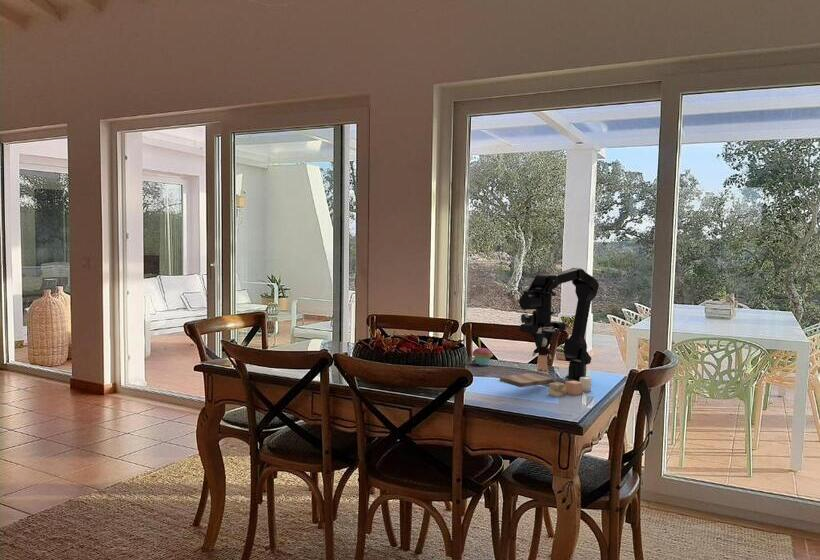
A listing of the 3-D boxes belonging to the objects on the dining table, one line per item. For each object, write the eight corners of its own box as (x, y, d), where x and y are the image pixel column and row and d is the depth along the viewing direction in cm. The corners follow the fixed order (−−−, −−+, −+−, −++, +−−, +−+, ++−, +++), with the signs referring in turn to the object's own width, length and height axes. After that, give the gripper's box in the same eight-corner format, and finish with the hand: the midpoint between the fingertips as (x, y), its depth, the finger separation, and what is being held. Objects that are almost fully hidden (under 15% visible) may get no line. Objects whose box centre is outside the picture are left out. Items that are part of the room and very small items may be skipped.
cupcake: (471, 365, 275) (472, 337, 274) (473, 361, 283) (473, 334, 283) (492, 366, 274) (492, 338, 273) (492, 363, 282) (493, 335, 281)
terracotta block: (573, 391, 233) (573, 380, 233) (581, 393, 230) (582, 382, 230) (565, 392, 231) (565, 381, 231) (573, 395, 228) (574, 383, 228)
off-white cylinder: (584, 388, 238) (585, 376, 238) (593, 390, 235) (593, 378, 234) (577, 389, 236) (577, 377, 236) (585, 392, 233) (585, 379, 232)
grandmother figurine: (552, 371, 243) (554, 337, 242) (550, 373, 239) (552, 339, 239) (532, 369, 246) (534, 336, 245) (530, 371, 242) (531, 337, 242)
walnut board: (531, 375, 257) (531, 372, 257) (553, 382, 247) (553, 378, 247) (500, 380, 249) (500, 376, 249) (521, 386, 239) (521, 383, 239)
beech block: (557, 393, 231) (557, 381, 230) (565, 395, 227) (565, 384, 227) (548, 394, 228) (549, 383, 228) (557, 396, 225) (557, 385, 225)
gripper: (545, 305, 253) (544, 344, 254) (509, 307, 242) (508, 348, 243) (567, 308, 244) (565, 349, 245) (531, 310, 233) (529, 353, 234)
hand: (542, 350), depth 242 cm, fingers closed on grandmother figurine, 3 cm apart
